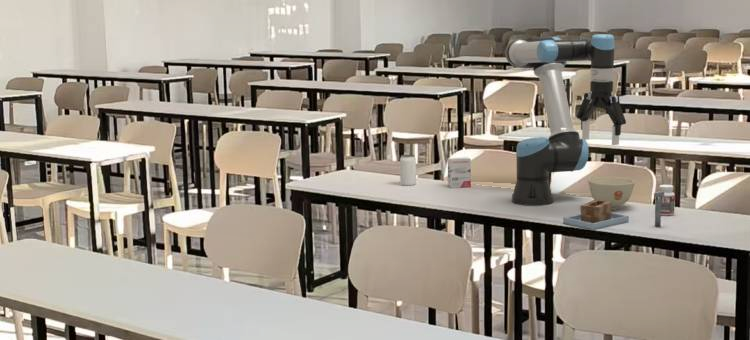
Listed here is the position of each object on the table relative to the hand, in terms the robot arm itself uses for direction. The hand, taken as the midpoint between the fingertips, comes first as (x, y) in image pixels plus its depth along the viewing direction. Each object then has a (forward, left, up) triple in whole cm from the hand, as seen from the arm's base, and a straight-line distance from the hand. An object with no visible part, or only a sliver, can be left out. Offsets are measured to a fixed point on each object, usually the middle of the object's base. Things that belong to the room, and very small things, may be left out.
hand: (600, 142), depth 348 cm
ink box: (-72, -2, -25) cm, 76 cm away
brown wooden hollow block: (+8, -11, -25) cm, 28 cm away
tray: (+8, -11, -25) cm, 29 cm away
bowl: (-4, +10, -25) cm, 28 cm away
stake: (+25, -1, -25) cm, 36 cm away
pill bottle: (+15, +16, -25) cm, 34 cm away
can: (-90, -14, -25) cm, 94 cm away
